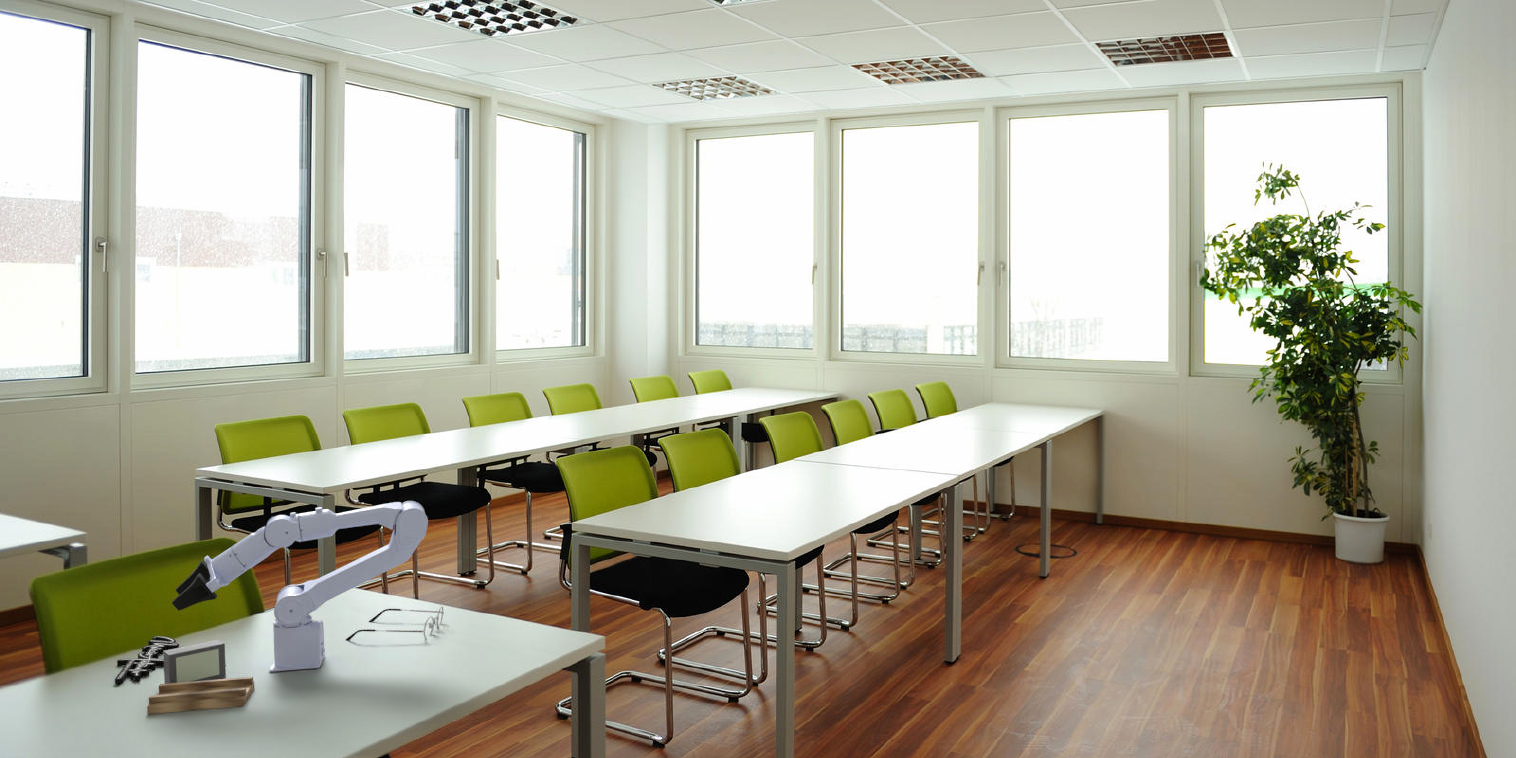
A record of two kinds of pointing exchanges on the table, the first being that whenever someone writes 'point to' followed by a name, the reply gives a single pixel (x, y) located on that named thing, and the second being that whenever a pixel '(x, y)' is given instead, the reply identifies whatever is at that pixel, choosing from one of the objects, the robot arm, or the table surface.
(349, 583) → the robot arm
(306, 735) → the table surface
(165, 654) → the grey block
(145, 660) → the nameplate
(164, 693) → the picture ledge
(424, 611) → the eyeglasses
